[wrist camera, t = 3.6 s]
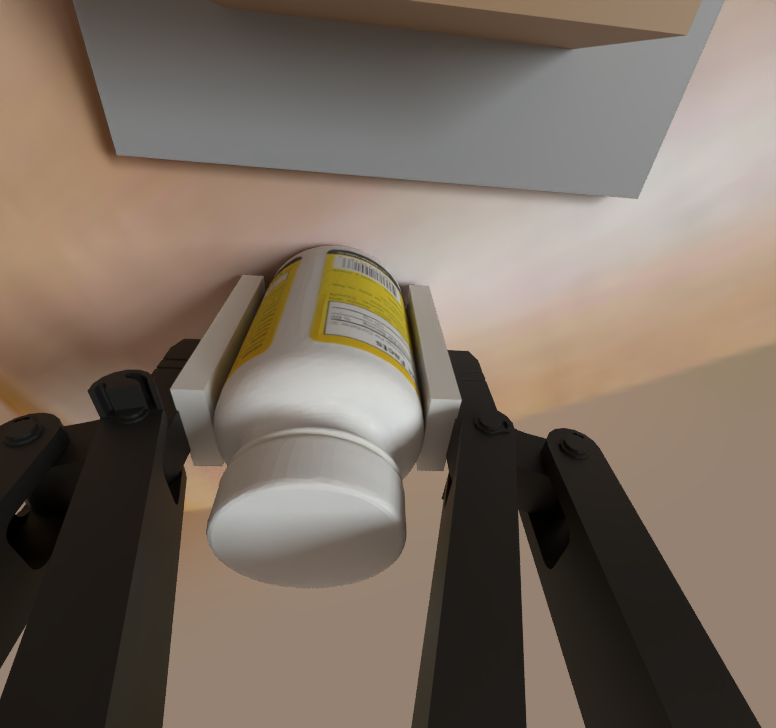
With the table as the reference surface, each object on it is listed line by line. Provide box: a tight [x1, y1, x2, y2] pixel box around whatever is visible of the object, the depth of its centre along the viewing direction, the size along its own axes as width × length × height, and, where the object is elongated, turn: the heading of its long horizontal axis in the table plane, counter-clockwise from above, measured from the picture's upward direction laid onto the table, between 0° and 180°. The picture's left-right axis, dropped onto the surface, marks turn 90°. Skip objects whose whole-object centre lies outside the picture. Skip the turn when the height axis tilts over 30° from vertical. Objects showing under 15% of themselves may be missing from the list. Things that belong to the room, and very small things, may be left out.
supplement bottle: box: [206, 246, 424, 588], centre depth 12 cm, size 5×5×10 cm
